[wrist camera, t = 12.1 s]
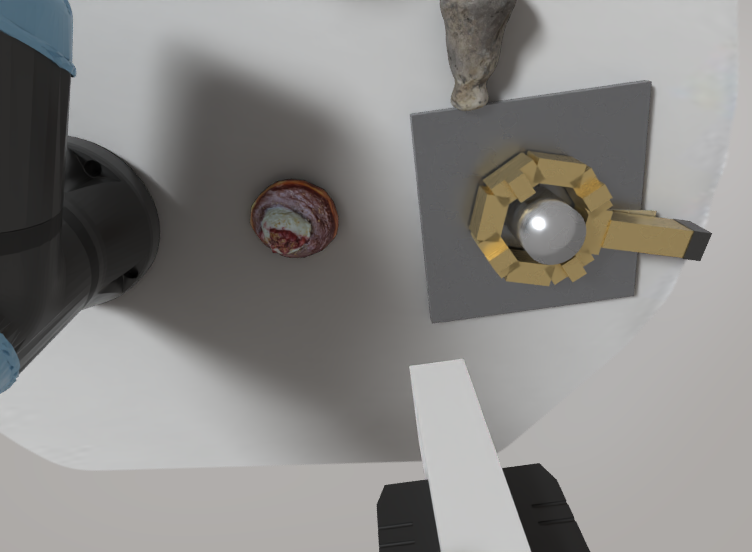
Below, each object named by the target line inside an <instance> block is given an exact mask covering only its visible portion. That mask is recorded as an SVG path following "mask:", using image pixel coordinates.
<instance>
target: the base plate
mask: <svg viewBox="0 0 752 552" xmlns="http://www.w3.org/2000/svg"><path fill="white" fill-rule="evenodd" d="M650 94H651V81H645V80H644V81H637V82H630V83H623V84H616V85H609V86H602V87H595V88H588V89H581V90H574V91H567V92H560V93H553V94H546V95H539V96H532V97H525V98H518V99H511V100H504V101H497V102H490V103H486V105H485V106H483V107H482V108H479V109H475V110H470V111H462V110H459V109H457V108H448V109H441V110H434V111H427V112H420V113H413V114H410V120H411V130H412V140H413V150H414V160H415V170H416V180H417V190H418V199H419V209H420V219H421V229H422V239H423V249H424V259H425V269H426V278H427V288H428V298H429V308H430V318H431V321H432V323H439V322H446V321H453V320H460V319H468V318H475V317H482V316H490V315H497V314H504V313H512V312H519V311H526V310H533V309H541V308H548V307H555V306H563V305H570V304H577V303H584V302H592V301H599V300H606V299H614V298H621V297H628V296H634V287H635V275H636V263H637V252H632V251H624V250H616V249H608V248H602V247H601V249H600V252H599V255H595V254H591V255H592V256H593V258H594V259H595V260H593V261H592V262H590V263H588V264H587V265H585V266H584V267H583V268H584V269H585V271H586V273H587V274H585V275H584V276H582V277H581V278H579V279H577V280H576V281H574V282H572V281H571V280H570V279H569V278H568V277H566V278H565V279H563V280H562V281H560V282H558V283H557V284H555V285H554V283H553V282H552V281H551V282H550V285H549V286H542V285H534V284H525V283H517V282H508V281H505V279H504V277H503V278H502V279H501V277H500V276H499V275H498V273H496V271H495V270H494V268H493V267H492V266H491V264H490V263H489V261H488V260H487V258H486V257H485V255H484V254H483V252H482V251H481V249H480V248H479V247H478V245H477V244H476V242H475V240H474V239H473V237H472V235H471V234H470V233H471V230H470V229H469V227H470V223H471V218H472V214H473V209H474V205H475V201H476V196H477V192H478V188H479V185H482V186H486V185H485V183H484V182H483V179H485V178H486V177H488V176H489V175H491V174H492V173H493V172H495V171H496V170H498V169H499V168H500V167H502V166H503V165H505V164H506V163H507V162H509V161H510V160H512V159H513V158H515V157H516V156H517V155H519V154H520V153H524V154H525V155H527V152H528V151H534V152H541V153H548V154H555V155H562V156H569V157H573V158H575V159H577V160H579V161H581V162H583V163H584V164H586V165H587V166H589V167H591V168H592V170H593V171H594V173H595V175H596V177H597V179H598V180H599V181H600V182H602V183H604V184H605V185H606V187H607V189H608V190H609V192H610V194H611V196H612V197H613V198H611V199H610V201H611V203H612V205H613V206H612V207H610V208H609V209H611V210H612V211H613V212H621V213H628V214H636V215H643V216H651V217H655V216H656V212H657V211H652V210H641V203H642V191H643V179H644V167H645V155H646V142H647V130H648V118H649V106H650ZM533 189H534V190H535V192H536V193H535V194H533V195H532V196H530V197H529V198H527V199H526V200H525V201H523V202H522V203H521V202H520V201H519V200H517V199H516V200H514V201H513V202H511V203H510V204H509V206H508V210H507V214H506V217H505V221H504V225H503V229H502V233H501V238H502V239H503V241H504V242H505V244H506V245H507V246H508V248H509V249H514V250H523V251H526V252H527V253H528V254H529V255H530V256H531V257H532V258H533V259H534V260H535V261H537V262H539V263H542V264H546V265H555V264H560V263H563V262H565V261H567V260H569V259H570V258H572V257H573V256H574V255H575V254H576V253H577V252H578V251H579V250H580V249H581V247H582V245H583V243H584V241H585V237H586V224H585V221H584V219H583V218H582V216H581V215H580V214H579V213H578V212H577V211H576V210H574V206H575V203H574V202H573V200H572V198H571V197H570V195H569V193H568V192H567V190H566V188H565V187H563V186H556V185H549V184H541V183H539V184H537V185H536V186H535V187H533Z"/></svg>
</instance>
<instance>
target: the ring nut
mask: <svg viewBox="0 0 752 552" xmlns="http://www.w3.org/2000/svg"><path fill="white" fill-rule="evenodd" d="M483 182H484V183H485V185H486V186H482V185H479V188H478V192H477V196H476V201H475V205H474V209H473V214H472V218H471V223H470V227H469V229H470V230H471V233H470V234H471V235H472V237H473V239H474V240H475V242H476V244H477V245H478V247H479V248H480V249H481V251H482V252H483V254H484V255H485V257H486V258H487V260H488V261H489V263H490V264H491V266H492V267H493V268H494V270H495V271H496V273H498V275H499V276H500V277H501V279H502V278H503V277H504V279H505V281H508V282H517V283H525V284H534V285H542V286H549V285H550V282H551V281H552V282H553V283H554V285H555V284H557V283H558V282H560V281H562V280H563V279H565V278H566V277H568V278H569V279H570V280H571V281H572V282H574V281H576V280H577V279H579V278H581V277H582V276H584V275H585V274H587V273H586V271H585V269H584V268H583V267H584V266H585V265H587V264H588V263H590V262H592V261H593V260H595V259H594V258H593V256H592V255H591V254H595V255H599V252H600V249H601V247H602V248H608V249H616V250H624V251H632V252H640V253H648V254H656V255H664V256H672V257H680V258H683V259H688V260H696V261H700V260H701V258H702V256H703V253H704V251H705V249H706V246H707V244H708V241H709V239H710V237H711V234H712V233H710V232H709V231H707V230H705V229H703V228H701V227H699V226H698V225H696V224H694V223H692V222H690V221H685V220H677V219H666V218H658V217H651V216H643V215H636V214H628V213H621V212H613V211H612V210H611V209H609V208H610V207H612V206H613V205H612V203H611V201H610V199H611V198H613V197H612V196H611V194H610V192H609V190H608V189H607V187H606V185H605V184H604V183H602V182H600V181H599V180H598V179H597V177H596V175H595V173H594V171H593V170H592V168H591V167H589V166H587V165H586V164H584V163H583V162H581V161H579V160H577V159H575V158H573V157H569V156H562V155H555V154H548V153H541V152H534V151H528V152H527V155H525V154H524V153H520V154H519V155H517V156H516V157H515V158H513V159H512V160H510V161H509V162H507V163H506V164H505V165H503V166H502V167H500V168H499V169H498V170H496V171H495V172H493V173H492V174H491V175H489V176H488V177H486V178H485V179H483ZM539 183H541V184H549V185H556V186H563V187H565V188H566V190H567V192H568V193H569V195H570V197H571V198H572V200H573V202H574V203H575V206H574V210H576V211H577V212H578V213H579V214H580V215H581V216H582V218H583V219H584V221H585V224H586V237H585V241H584V243H583V245H582V247H581V249H580V250H579V251H578V252H577V253H576V254H575V255H574V256H573V257H572V258H570V259H569V260H567V261H565V262H563V263H560V264H555V265H546V264H542V263H539V262H537V261H535V260H534V259H533V258H532V257H531V256H530V255H529V254H528V253H527V252H526V251H523V250H514V249H509V248H508V246H507V245H506V244H505V242H504V241H503V239H502V238H501V233H502V229H503V225H504V221H505V217H506V214H507V210H508V206H509V204H510V203H511V202H513V201H514V200H516V199H517V200H519V201H520V202H521V203H522V202H523V201H525V200H526V199H527V198H529V197H530V196H532V195H533V194H535V193H536V192H535V190H534V189H533V187H535V186H536V185H537V184H539Z"/></svg>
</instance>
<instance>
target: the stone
mask: <svg viewBox="0 0 752 552" xmlns="http://www.w3.org/2000/svg"><path fill="white" fill-rule="evenodd" d="M515 3H516V0H440V8H441V13H442V16H443V19H444V22H445V29H446V45H447V52H448V60H449V65H450V68H451V72H452V74H453V76H454V78H455V86H454V90H453V93H452V96H451V104H452V105H453V106H454V107H455V108H457V109H459V110H462V111H470V110H475V109H479V108H482V107H483V106H485V105H486V103H487V102H488V99H489V96H488V92H487V89H486V82H487V80H488V78H489V77H490V76H491V74H492V73H493V71H494V69H495V68H496V66H497V63H498V60H499V56H500V50H501V43H502V38H503V34H504V30H505V27H506V24H507V22H508V20H509V18H510V15H511V12H512V10H513V8H514V6H515Z"/></svg>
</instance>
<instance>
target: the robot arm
mask: <svg viewBox="0 0 752 552" xmlns="http://www.w3.org/2000/svg"><path fill="white" fill-rule="evenodd" d="M72 46H73V15H72V11H71V7H70V4H69V2H68V0H0V393H2V392H4V391H6V390H7V389H9V388H10V387H11V386H12V384H13V383H14V382H15V381H16V378H17V377H18V376H19V374H20V373H21V372H22V371H23V370H24V369H25V368H26V367H27V365H28V364H29V363H30V362H31V361H32V360H33V359H34V358H35V357H36V356H37V355H38V354H39V353H40V352H41V351H42V350H43V349H44V348H45V347H46V346H47V345H48V344H49V343H50V342H51V341H52V340H53V339H54V338H55V337H56V336H57V335H58V333H59V332H60V331H61V330H62V329H63V328H64V327H65V326H66V325H67V324H68V323H69V322H70V321H71V320H72V319H73V318H74V317H75V316H76V315H77V314H78V313H79V312H80V311H81V310H83V309H86V308H89V307H92V306H95V305H98V304H101V303H104V302H107V301H110V300H112V299H115V298H117V297H118V296H120V295H122V294H123V293H125V292H126V291H128V290H129V289H130V288H132V287H133V286H134V285H135V284H136V283H137V282H138V281H139V280H140V278H141V277H142V276H143V275H144V274H145V273H146V271H147V270H148V269H149V267H150V266H151V264H152V262H153V260H154V258H155V256H156V253H157V250H158V245H159V239H160V226H159V219H158V214H157V211H156V208H155V205H154V202H153V200H152V198H151V196H150V194H149V192H148V190H147V189H146V187H145V185H144V184H143V182H142V181H141V180H140V178H139V177H138V176H137V175H136V174H135V173H134V171H133V170H132V169H131V168H130V167H129V166H128V165H126V164H125V163H124V162H123V161H122V160H121V159H119V158H118V157H117V156H115V155H114V154H112V153H111V152H109V151H108V150H106V149H104V148H102V147H100V146H98V145H96V144H94V143H91V142H89V141H86V140H83V139H80V138H76V137H71V136H67V135H68V118H69V101H70V85H71V77H75V76H76V68H75V66H74V65H73V63H72ZM409 368H410V376H411V384H412V392H413V399H414V407H415V415H416V423H417V431H418V439H419V446H420V452H421V458H422V463H423V469H424V475H425V480H420V481H412V482H405V483H397V484H390V485H385V486H384V488H383V491H382V493H381V496H380V498H379V500H378V503H377V518H378V535H379V536H378V537H379V552H590V551H589V548H588V547H587V544H586V542H585V540H584V538H583V536H582V533H581V531H580V529H579V527H578V525H577V523H576V521H575V520H574V516H573V514H572V512H571V510H570V508H569V505H568V504H567V503H566V499H565V497H564V495H563V492H562V490H561V488H560V486H559V484H558V482H557V480H556V479H555V478H554V477H553V476H552V475H551V474H550V473H549V472H548V471H547V470H546V469H545V468H544V467H543V466H541V464H539V463H537V464H530V465H523V466H515V467H507V468H502V467H501V464H500V461H499V459H498V456H497V453H496V450H495V447H494V444H493V441H492V439H491V436H490V433H489V430H488V427H487V424H486V421H485V419H484V416H483V413H482V410H481V407H480V404H479V401H478V399H477V396H476V393H475V390H474V387H473V384H472V381H471V379H470V376H469V373H468V370H467V367H466V364H465V361H464V359H457V360H449V361H442V362H435V363H427V364H420V365H413V366H409Z"/></svg>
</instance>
